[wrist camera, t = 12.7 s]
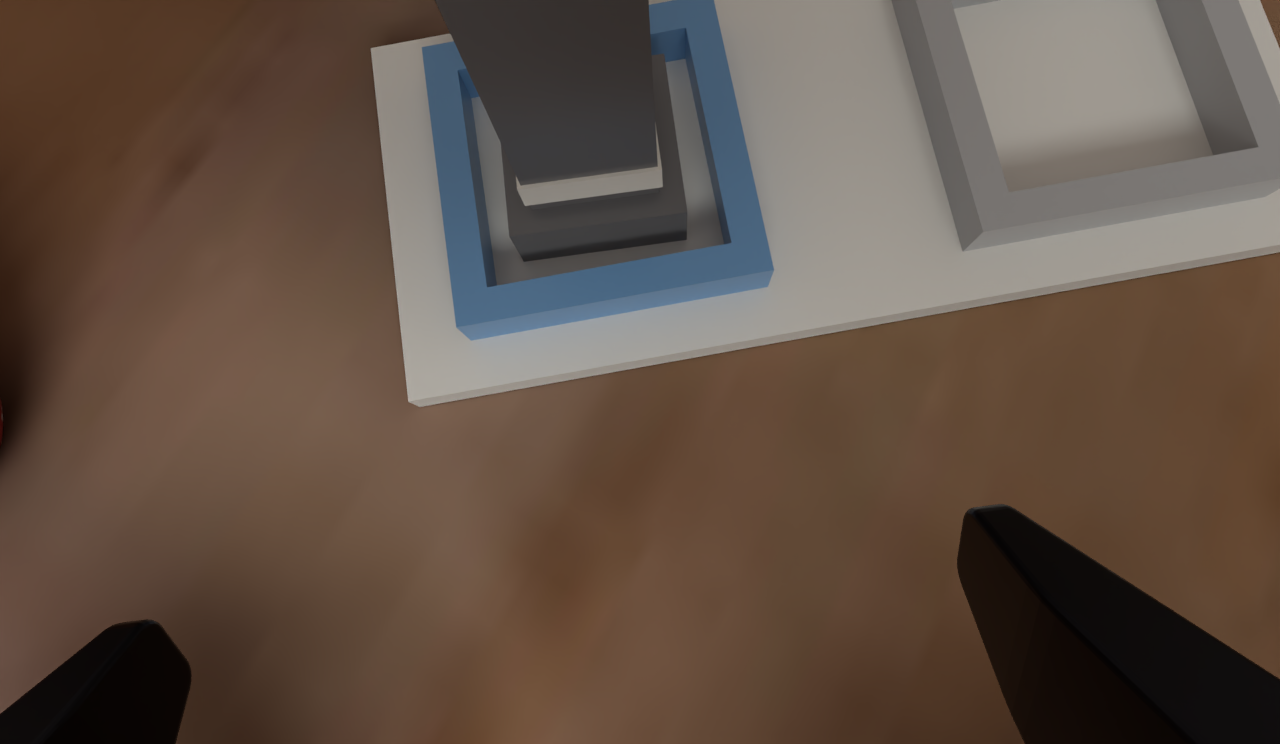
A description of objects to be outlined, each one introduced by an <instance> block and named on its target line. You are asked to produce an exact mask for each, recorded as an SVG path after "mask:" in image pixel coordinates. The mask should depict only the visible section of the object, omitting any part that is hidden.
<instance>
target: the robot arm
mask: <svg viewBox="0 0 1280 744" xmlns="http://www.w3.org/2000/svg"><path fill="white" fill-rule="evenodd" d="M957 568H958V574H959V578H960V582H961V584H962V587H963V590H964V592H965V595H966V598H967V600H968V603H969V606H970V608H971V611H972V614H973V616H974V619H975V622H976V624H977V627H978V630H979V632H980V635H981V637H982V640H983V643H984V645H985V648H986V651H987V653H988V656H989V659H990V661H991V664H992V667H993V669H994V672H995V675H996V677H997V680H998V683H999V685H1000V688H1001V691H1002V693H1003V696H1004V698H1005V701H1006V703H1007V706H1008V708H1009V710H1010V713H1011V715H1012V717H1013V720H1014V722H1015V724H1016V726H1017V728H1018V730H1019V732H1020V734H1021V736H1022V739H1023V741H1024V742H1025V744H1280V679H1279V678H1277V677H1276V676H1274V675H1272V674H1271V673H1269V672H1268V671H1266V670H1265V669H1263V668H1262V667H1260V666H1258V665H1257V664H1255V663H1254V662H1252V661H1251V660H1249V659H1248V658H1246V657H1244V656H1243V655H1241V654H1240V653H1238V652H1237V651H1235V650H1234V649H1232V648H1230V647H1229V646H1227V645H1226V644H1224V643H1223V642H1221V641H1219V640H1218V639H1216V638H1215V637H1213V636H1212V635H1210V634H1209V633H1207V632H1205V631H1204V630H1202V629H1201V628H1199V627H1198V626H1196V625H1195V624H1193V623H1191V622H1190V621H1188V620H1187V619H1185V618H1184V617H1182V616H1181V615H1179V614H1177V613H1176V612H1174V611H1173V610H1171V609H1170V608H1168V607H1167V606H1165V605H1163V604H1162V603H1160V602H1159V601H1157V600H1156V599H1154V598H1153V597H1151V596H1149V595H1148V594H1146V593H1145V592H1143V591H1142V590H1140V589H1139V588H1137V587H1135V586H1134V585H1132V584H1131V583H1129V582H1128V581H1126V580H1125V579H1123V578H1121V577H1120V576H1118V575H1117V574H1115V573H1114V572H1112V571H1111V570H1109V569H1107V568H1106V567H1104V566H1103V565H1101V564H1100V563H1098V562H1097V561H1095V560H1093V559H1092V558H1090V557H1089V556H1087V555H1086V554H1084V553H1083V552H1081V551H1079V550H1078V549H1076V548H1075V547H1073V546H1072V545H1070V544H1069V543H1067V542H1065V541H1064V540H1062V539H1061V538H1059V537H1058V536H1056V535H1055V534H1053V533H1051V532H1050V531H1048V530H1047V529H1045V528H1044V527H1042V526H1041V525H1039V524H1037V523H1036V522H1034V521H1033V520H1031V519H1030V518H1028V517H1027V516H1025V515H1023V514H1022V513H1020V512H1019V511H1017V510H1016V509H1014V508H1012V507H1010V506H1008V505H1004V504H997V505H989V506H982V507H975V508H971V509H969V510H968V511H967V512H966V513H965V515H964V519H963V525H962V531H961V538H960V544H959V551H958V557H957ZM190 685H191V668H190V665H189V662H188V661H187V659H186V658H185V656H184V655H183V654H182V653H181V651H180V650H179V649H178V647H177V646H176V645H175V643H174V642H173V641H172V639H171V638H170V637H169V635H168V634H167V633H166V631H165V630H164V629H163V627H162V626H161V625H160V624H159V623H158V622H156V621H153V620H148V619H146V620H139V621H131V622H124V623H118V624H115V625H112V626H110V627H109V628H107V629H106V630H104V631H103V632H102V633H101V634H99V635H98V636H97V637H96V638H94V639H93V640H92V641H91V642H89V643H88V644H87V645H86V646H84V647H83V648H82V649H81V650H79V651H78V652H77V653H76V654H74V655H73V656H72V657H71V658H69V659H68V660H67V661H66V662H64V663H63V664H62V665H61V666H59V667H58V668H57V669H56V670H54V671H53V672H52V673H51V674H49V675H48V676H47V677H46V678H44V679H43V680H42V681H41V682H40V683H38V684H37V685H36V686H35V687H33V688H32V689H31V690H30V691H28V692H27V693H26V694H25V695H23V696H22V697H21V698H20V699H18V700H17V701H16V702H15V703H13V704H12V705H11V706H10V707H8V708H7V709H6V710H5V711H3V712H2V713H1V714H0V744H176V740H177V736H178V732H179V728H180V724H181V721H182V717H183V713H184V709H185V705H186V701H187V697H188V694H189V690H190Z"/></svg>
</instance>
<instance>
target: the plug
mask: <svg viewBox="0 0 1280 744" xmlns="http://www.w3.org/2000/svg"><path fill="white" fill-rule="evenodd" d="M435 1H436V4H437V6H438V8H439V10H440V12H441V14H442V17H443V19H444V21H445V23H446V25H447V27H448V30H449V32H450V34H451V36H452V38H453V40H454V43H455V45H456V47H457V49H458V51H459V53H460V56H461V58H462V60H463V62H464V64H465V66H466V69H467V71H468V73H469V75H470V77H471V79H472V82H473V84H474V86H475V88H476V90H477V92H478V95H479V97H480V99H481V101H482V103H483V105H484V108H485V110H486V112H487V114H488V116H489V118H490V121H491V123H492V125H493V127H494V129H495V131H496V134H497V136H498V138H499V140H500V142H501V152H502V163H503V174H504V185H505V196H506V207H507V218H508V229H509V237H510V239H511V240H512V242H513V244H514V246H515V247H516V249H517V251H518V252H519V254H520V256H521V258H522V259H523V261H524V262H526V261H534V260H541V259H549V258H556V257H563V256H571V255H578V254H585V253H593V252H600V251H608V250H615V249H622V248H630V247H637V246H645V245H652V244H659V243H667V242H674V241H682V240H687V206H686V199H685V192H684V185H683V178H682V172H681V165H680V158H679V151H678V144H677V138H676V131H675V124H674V117H673V110H672V104H671V97H670V90H669V83H668V76H667V70H666V63H665V56H664V54H657V55H652V54H651V36H650V18H649V0H435Z"/></svg>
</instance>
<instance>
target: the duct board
mask: <svg viewBox="0 0 1280 744" xmlns="http://www.w3.org/2000/svg"><path fill="white" fill-rule="evenodd" d="M649 18H650V36H651V54H652V55H657V54H664V56H665V63H666V70H667V76H668V83H669V90H670V97H671V104H672V110H673V117H674V124H675V131H676V138H677V144H678V151H679V158H680V165H681V172H682V178H683V185H684V192H685V199H686V206H687V240H682V241H674V242H667V243H659V244H652V245H645V246H637V247H630V248H622V249H615V250H608V251H600V252H593V253H585V254H578V255H571V256H563V257H556V258H549V259H541V260H534V261H526V262H524V261H523V259H522V258H521V256H520V254H519V252H518V251H517V249H516V247H515V246H514V244H513V242H512V240H511V239H510V237H509V229H508V218H507V207H506V196H505V185H504V174H503V163H502V152H501V142H500V140H499V138H498V136H497V134H496V131H495V129H494V127H493V125H492V123H491V121H490V118H489V116H488V114H487V112H486V110H485V108H484V105H483V103H482V101H481V99H480V97H479V95H478V92H477V90H476V88H475V86H474V84H473V82H472V79H471V77H470V75H469V73H468V71H467V69H466V66H465V64H464V62H463V60H462V58H461V56H460V53H459V51H458V49H457V47H456V45H455V43H454V40H453V38H452V36H451V34H444V35H439V36H434V37H428V38H423V39H417V40H412V41H407V42H401V43H396V44H391V45H385V46H380V47H375V48H371V55H372V65H373V74H374V84H375V93H376V102H377V112H378V121H379V131H380V140H381V149H382V159H383V168H384V177H385V187H386V196H387V206H388V215H389V224H390V234H391V243H392V253H393V262H394V271H395V281H396V290H397V299H398V309H399V318H400V328H401V337H402V346H403V356H404V365H405V375H406V384H407V393H408V402H410V403H413V404H415V405H417V406H419V407H422V406H428V405H434V404H439V403H445V402H450V401H456V400H461V399H467V398H472V397H478V396H484V395H489V394H495V393H500V392H506V391H511V390H517V389H523V388H528V387H534V386H539V385H545V384H550V383H556V382H561V381H567V380H573V379H578V378H584V377H589V376H595V375H600V374H606V373H612V372H617V371H623V370H628V369H634V368H639V367H645V366H650V365H656V364H662V363H667V362H673V361H678V360H684V359H689V358H695V357H700V356H706V355H712V354H717V353H723V352H728V351H734V350H739V349H745V348H751V347H756V346H762V345H767V344H773V343H778V342H784V341H789V340H795V339H801V338H806V337H812V336H817V335H823V334H828V333H834V332H840V331H845V330H851V329H856V328H862V327H867V326H873V325H878V324H884V323H890V322H895V321H901V320H906V319H912V318H917V317H923V316H928V315H934V314H940V313H945V312H951V311H956V310H962V309H967V308H973V307H979V306H984V305H990V304H995V303H1001V302H1006V301H1012V300H1017V299H1023V298H1029V297H1034V296H1040V295H1045V294H1051V293H1056V292H1062V291H1068V290H1073V289H1079V288H1084V287H1090V286H1095V285H1101V284H1106V283H1112V282H1118V281H1123V280H1129V279H1134V278H1140V277H1145V276H1151V275H1157V274H1162V273H1168V272H1173V271H1179V270H1184V269H1190V268H1195V267H1201V266H1207V265H1212V264H1218V263H1223V262H1229V261H1234V260H1240V259H1245V258H1251V257H1257V256H1262V255H1268V254H1273V253H1279V252H1280V48H1279V46H1278V44H1277V41H1276V39H1275V36H1274V34H1273V31H1272V29H1271V26H1270V24H1269V21H1268V19H1267V17H1266V14H1265V12H1264V9H1263V7H1262V4H1261V2H1260V0H649Z"/></svg>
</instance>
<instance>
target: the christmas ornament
mask: <svg viewBox="0 0 1280 744" xmlns="http://www.w3.org/2000/svg"><path fill="white" fill-rule="evenodd" d="M2 433H3V413H2V404H1V399H0V446H1V441H2Z"/></svg>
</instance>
